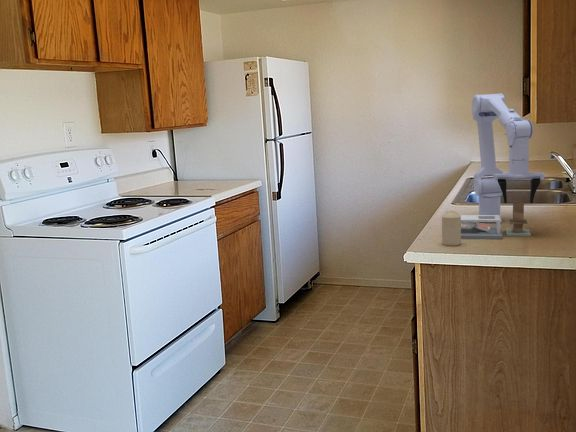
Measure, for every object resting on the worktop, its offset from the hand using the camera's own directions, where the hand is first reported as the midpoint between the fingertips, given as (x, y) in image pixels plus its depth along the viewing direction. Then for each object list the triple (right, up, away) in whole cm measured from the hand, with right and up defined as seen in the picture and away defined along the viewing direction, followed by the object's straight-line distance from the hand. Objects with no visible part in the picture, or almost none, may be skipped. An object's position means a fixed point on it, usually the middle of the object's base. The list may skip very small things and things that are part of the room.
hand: (518, 202), depth 191 cm
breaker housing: (-12, -10, +5) cm, 16 cm away
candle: (-23, -13, -7) cm, 27 cm away
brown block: (+1, -9, +2) cm, 9 cm away
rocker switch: (-12, -7, +4) cm, 15 cm away
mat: (+1, -10, +2) cm, 10 cm away
